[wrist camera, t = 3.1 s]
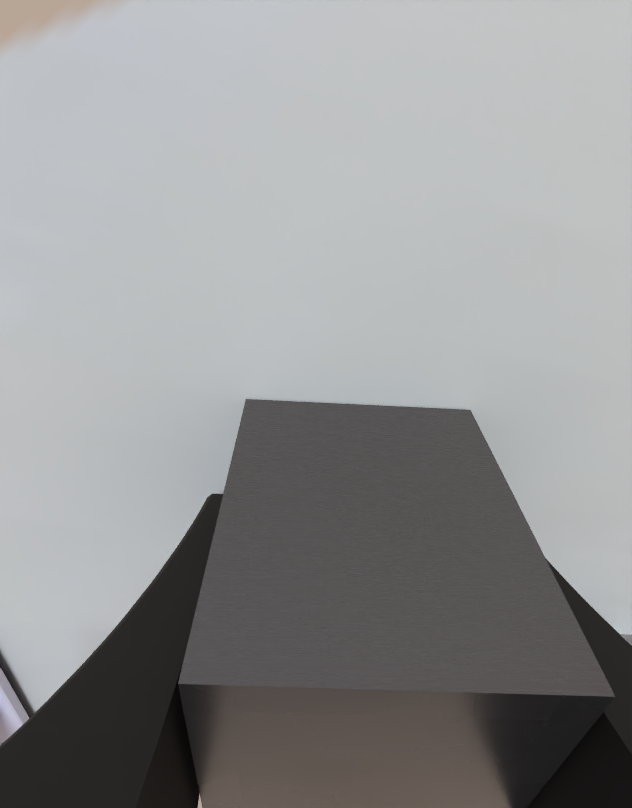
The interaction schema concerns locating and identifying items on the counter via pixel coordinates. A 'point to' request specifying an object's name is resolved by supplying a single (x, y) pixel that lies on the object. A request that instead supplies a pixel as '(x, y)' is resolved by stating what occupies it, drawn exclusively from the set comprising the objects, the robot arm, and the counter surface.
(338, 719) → the brushed dark grey cube
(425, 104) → the counter surface
